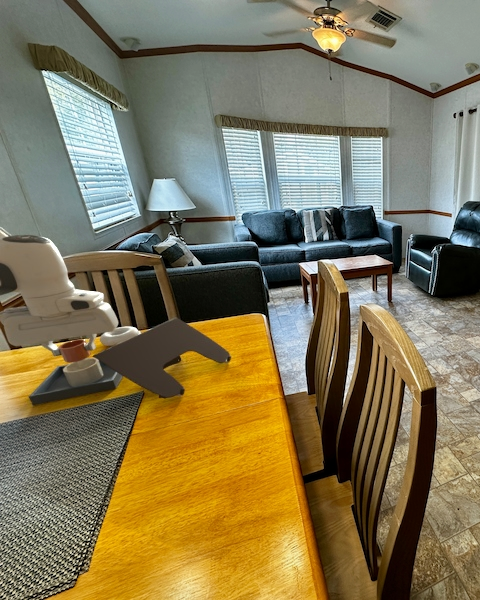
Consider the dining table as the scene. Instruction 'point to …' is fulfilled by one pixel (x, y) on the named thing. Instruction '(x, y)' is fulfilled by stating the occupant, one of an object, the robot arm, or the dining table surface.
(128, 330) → the donut
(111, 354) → the laptop tray
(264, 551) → the dining table surface
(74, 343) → the terracotta bowl
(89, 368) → the cream bowl
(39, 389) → the tray
